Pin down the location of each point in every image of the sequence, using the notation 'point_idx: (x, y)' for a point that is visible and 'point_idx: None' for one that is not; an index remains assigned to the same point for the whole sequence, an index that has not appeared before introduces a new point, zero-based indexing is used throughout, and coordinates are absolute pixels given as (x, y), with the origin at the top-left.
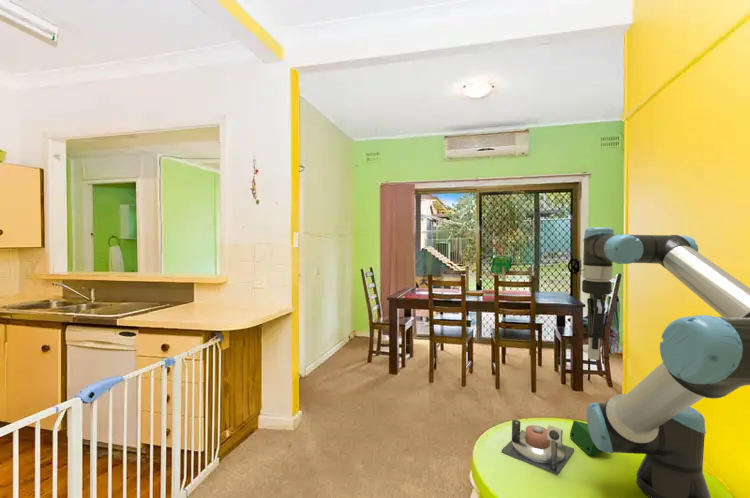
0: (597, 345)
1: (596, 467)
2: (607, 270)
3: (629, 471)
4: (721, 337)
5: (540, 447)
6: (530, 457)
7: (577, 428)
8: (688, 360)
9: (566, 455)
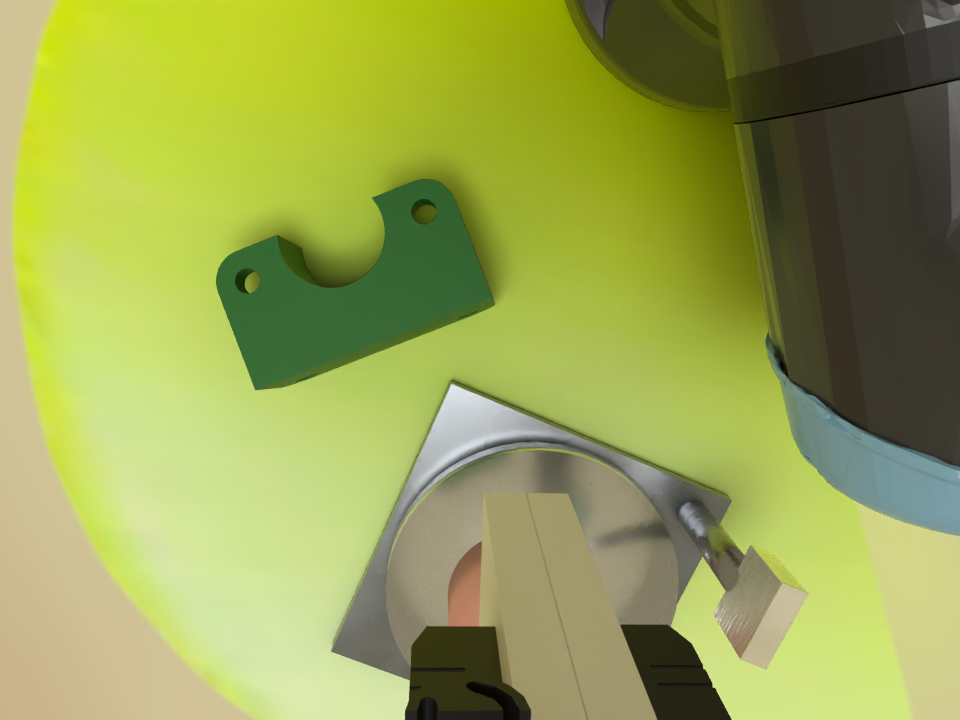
0: (702, 686)
1: (589, 288)
2: None
3: (573, 113)
4: None
5: None
6: None
7: (319, 367)
8: None
9: (546, 436)
